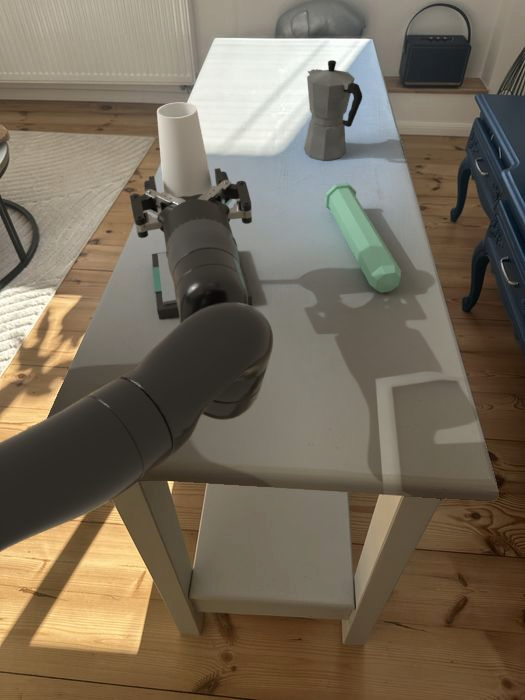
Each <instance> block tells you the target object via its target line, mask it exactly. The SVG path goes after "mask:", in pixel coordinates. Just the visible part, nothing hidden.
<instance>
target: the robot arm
mask: <svg viewBox="0 0 525 700" xmlns="http://www.w3.org/2000/svg"><path fill="white" fill-rule="evenodd" d="M214 179H215V185H212V187H211V188H210V189H209V190H208V191H207V192H206V193H205V194H204V195H203V194H198V195H194V196H182V197H177V198H176V197H174V196H172V195H170V194H168V193H166V192H163V191H162V192H159V191H158V188H157V183H156V179H155V176H154V175H151V176H148V180H145V181H144V183H143V186H144V193H143V194H142V195H140V193H133V194H130V195H129V201H130V206H131V210H132V216H133V220H134V226H135V229H136V233H137V237H138V238H140V239H145V238H147V237H148V236H149V232H150V231H154V230H160V231H161V232H162V233H163V236H164V242H165V252H166V256H167V259H168V266H169V270H170V273H171V276H172V279H173V283H174V290H175V297H176V302H177V307H178V311H179V316H178V317H179V324H178V325H177V326H176V327H175V328H173V329H172V331H170V333H168V334H167V335H166V336H165V337H164V338H163V339H162V340H161V341H160V342H159V343H158V344H156V345H155V346H154V347H153V348H152V349H151V350H150V351H149V352H148V353H147V354H146V355H145V356H144V358H143V359H141V361H140V362H138V364H137V365H136V366H135V367H134V368H132V369H131V370H129V371H127V372H126V373H124V374H121V375H120V376H118V377H116V378H114V379H113V380H111V381H110V382H107V383H106V384H104V385H102V386H100V387H99V388H97V389H95V390H94V391H92V392H90V393H89V394H87V395H85V396H83V397H82V398H80V399H79V400H76V401H75V402H73V403H72V404H70V405H68V406H66V407H65V408H63V409H62V410H60V411H58V412H56V413H55V414H53V415H50V416H49V417H47V418H45V419H44V420H42V421H40V422H38V423H36V424H34V425H32V426H31V427H29V428H27V429H24V430H23V431H21V432H19V433H17V434H14V435H13V436H11V437H9V438H6V439H3V440H2V441H1V442H0V553H1V552H3V551H6V549H8V548H11V547H13V546H15V545H17V544H20V543H22V542H24V541H25V540H27V539H30V538H32V537H35V536H37V535H39V534H41V533H44V532H47V531H49V530H51V529H55V528H57V527H59V526H61V525H64V524H66V523H68V522H71V521H73V520H75V519H78V518H80V517H82V516H85V515H87V514H89V513H90V512H93V511H95V510H97V509H99V508H100V507H102V506H104V505H105V504H107V503H109V502H110V501H112V500H114V499H116V498H117V497H119V496H120V495H121V494H123V493H124V492H126V491H127V490H129V489H130V488H131V487H133V486H134V485H135V484H137V483H138V482H139V481H140V480H141V479H143V478H144V477H145V476H147V475H148V474H149V473H151V472H152V471H153V470H155V469H156V468H158V466H160V465H161V464H162V463H164V462H165V461H166V460H167V459H168V458H170V457H171V456H173V455H174V454H175V453H176V452H177V451H179V450H180V449H181V448H182V447H183V446H184V445H185V444H186V443H187V442H188V441H189V439H190V438H191V437H192V436H193V434H194V432H195V430H196V428H197V425H198V423H199V421H200V419H201V417H202V416H203V415H204V416H205V417H207V418H210V419H213V420H219V421H220V420H221V421H227V420H233V419H236V418H238V417H240V416H242V415H243V414H245V413H246V412H247V411H249V410H250V409H251V408H252V406H253V405H254V404H255V403H256V401H257V399H258V397H259V394H260V391H261V388H262V385H263V381H264V378H265V375H266V372H267V370H268V365H269V362H270V359H271V356H272V352H273V347H274V334H273V329H272V326H271V324H270V322H269V320H268V319H267V317H266V316H265V314H263V313H262V312H261V311H260V310H259V309H257V308H256V307H254V306H252V305H248V294H247V289H246V285H245V282H244V278H243V275H242V272H241V268H240V260H239V255H240V253H239V254H238V252H239V250H237V249H238V243H237V241H236V239H235V237H234V234H233V231H232V227H231V224H230V221H231V220H238V219H239V220H241V223H243V224H246V225H247V224H251V223H252V222H253V212H252V211H253V210H252V209H253V208H252V200H251V197H250V192H249V189H248V185H247V182H246V181H245V180H238V181H236V183H232V181H231V180H230V179H229V177H228V174H227V172H226V171H222V170H221V168H220V167H218V168H217V167H216V168H214ZM233 200H235V201H236V202H235V203H234V204H233V206H232V207H229V204H230V203H232V201H233ZM148 212H150V213H151V214H153V215H156V216H157V217H153V216H152V215H151V214H149V213H148Z"/></svg>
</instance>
